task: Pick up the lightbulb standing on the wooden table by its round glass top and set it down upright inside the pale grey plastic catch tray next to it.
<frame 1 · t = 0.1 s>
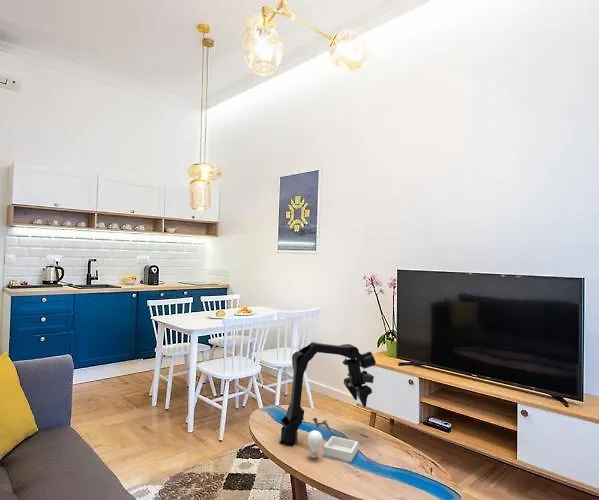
hand: (360, 403, 197), 15 cm above the table, tool pointing down, fingers open, 9 cm apart
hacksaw: (327, 430, 203), on the table
lightbulb: (313, 458, 173), on the table
tray: (340, 453, 178), on the table
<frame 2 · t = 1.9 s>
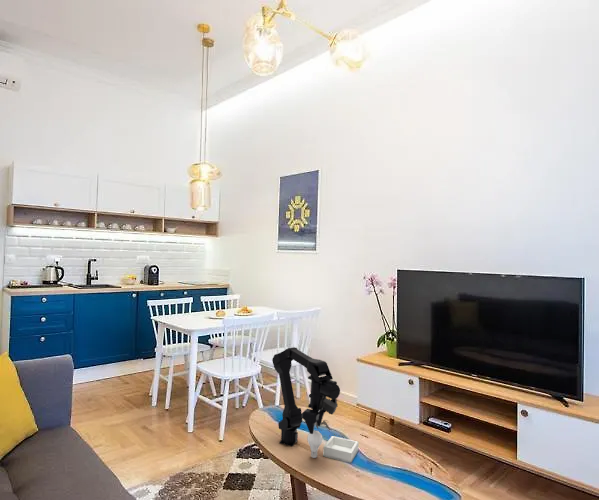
hand: (315, 429, 173), 12 cm above the table, tool pointing down, fingers open, 9 cm apart
nothing on the table moved.
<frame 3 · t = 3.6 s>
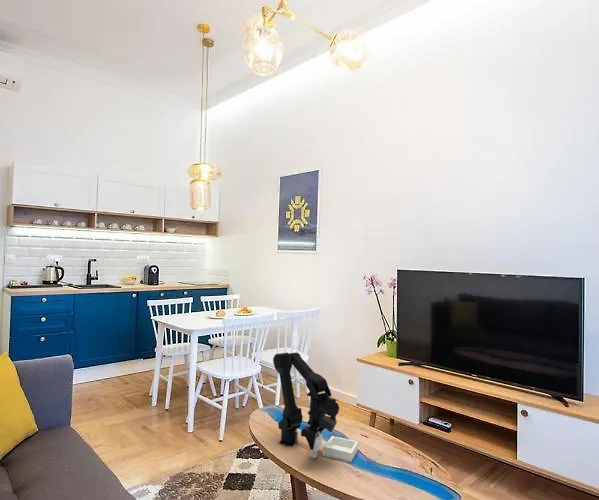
hand: (314, 446, 173), 5 cm above the table, tool pointing down, fingers closed on lightbulb, 6 cm apart
lightbulb: (313, 458, 173), on the table, touching gripper
everything else where it was.
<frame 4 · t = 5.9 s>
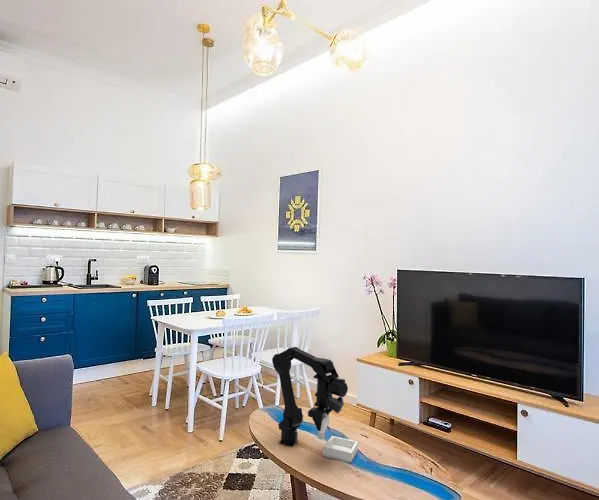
hand: (321, 428, 174), 12 cm above the table, tool pointing down, fingers closed on lightbulb, 6 cm apart
lightbulb: (320, 439, 174), point 7 cm above the table, touching gripper
everything else where it was.
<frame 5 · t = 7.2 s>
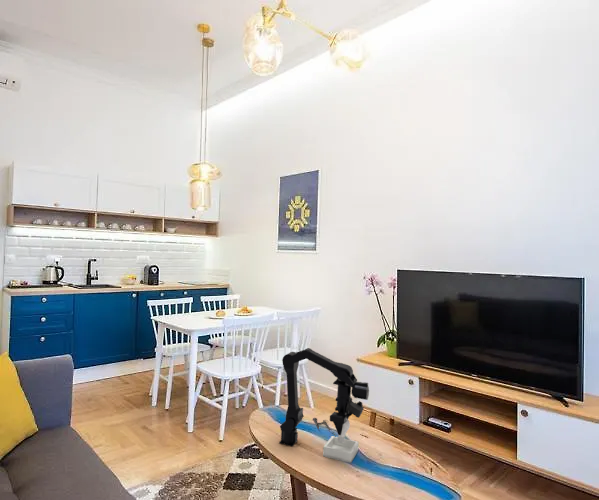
hand: (341, 432, 178), 9 cm above the table, tool pointing down, fingers closed on lightbulb, 6 cm apart
lightbulb: (341, 443, 178), point 4 cm above the table, touching gripper
everything else where it was.
when the fingers open (7 cm above the table, at t = 8.5 s): lightbulb drops 2 cm, resting on tray.
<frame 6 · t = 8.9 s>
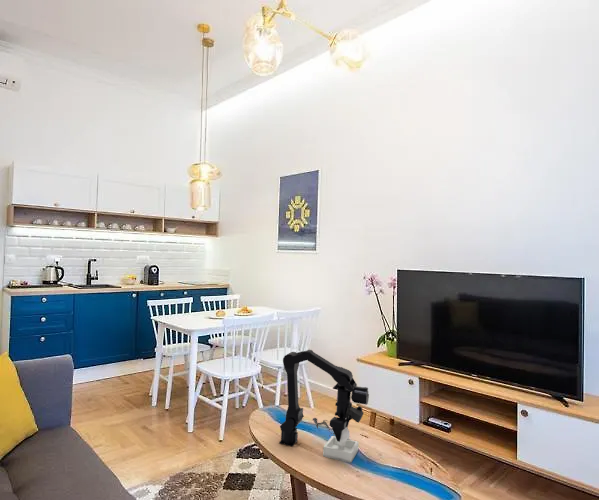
hand: (341, 437, 178), 7 cm above the table, tool pointing down, fingers open, 9 cm apart
lightbulb: (341, 452, 178), point 1 cm above the table, touching tray
everything else where it was.
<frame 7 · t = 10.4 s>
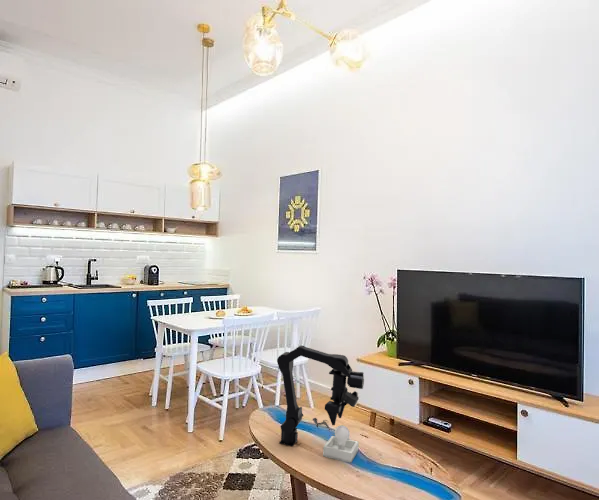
hand: (336, 421, 180), 13 cm above the table, tool pointing down, fingers open, 9 cm apart
nothing on the table moved.
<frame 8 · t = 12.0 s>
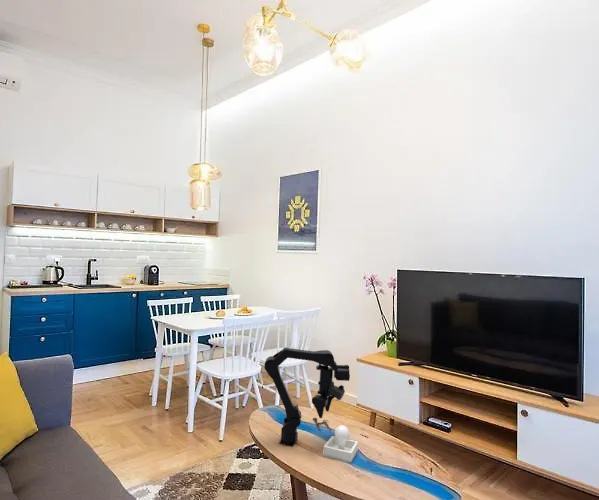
hand: (324, 414, 186), 13 cm above the table, tool pointing down, fingers open, 9 cm apart
nothing on the table moved.
at the end: lightbulb inside the target area on the tray (0.1 cm from its centre), point 0.6 cm above the tray's base; lightbulb tilted 0°; the gripper is holding nothing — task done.
